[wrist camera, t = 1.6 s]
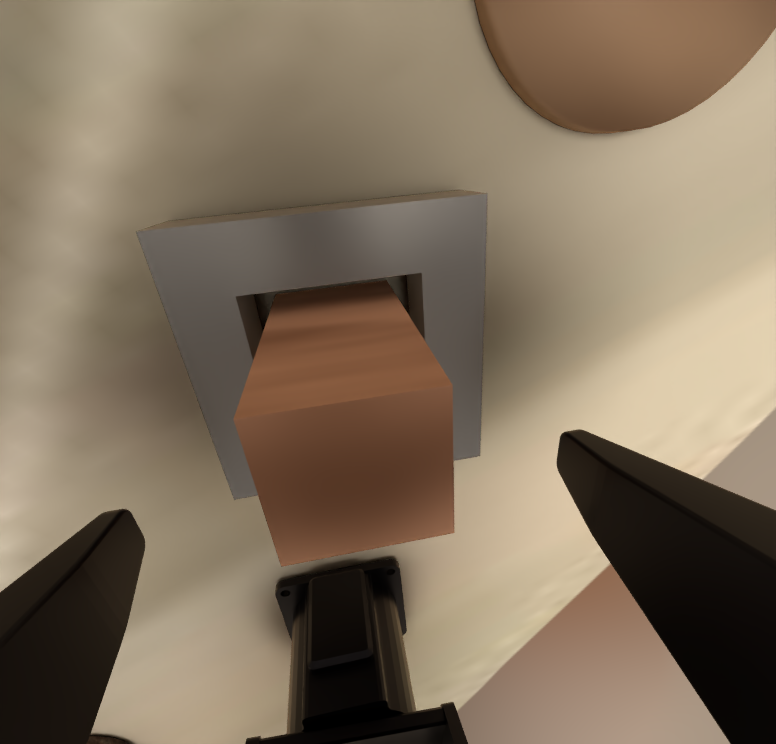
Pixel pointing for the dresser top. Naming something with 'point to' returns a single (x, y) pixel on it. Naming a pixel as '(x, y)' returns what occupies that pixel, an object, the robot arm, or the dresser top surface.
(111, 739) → the can
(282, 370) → the block
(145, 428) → the dresser top surface
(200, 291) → the collar
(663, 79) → the pad
